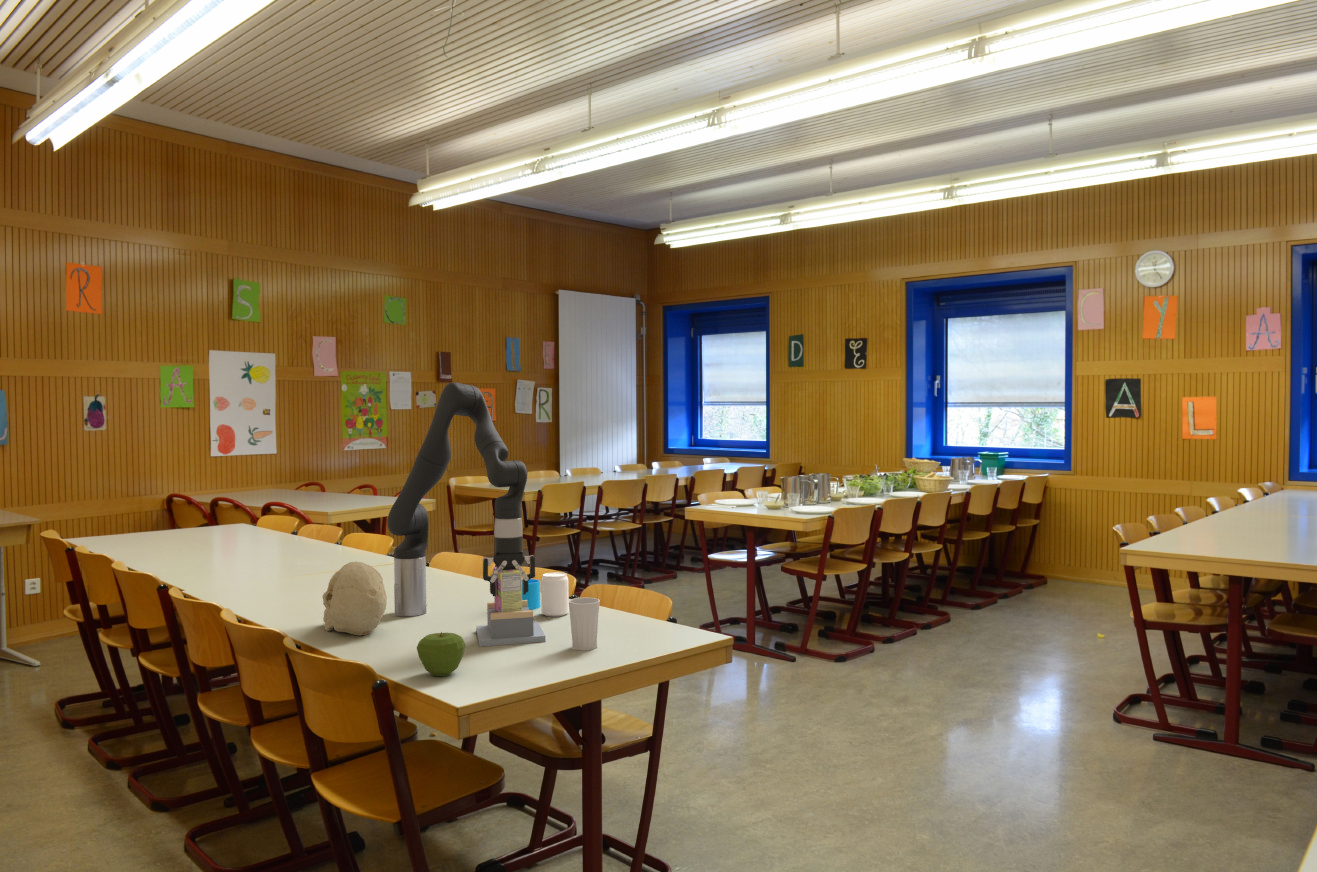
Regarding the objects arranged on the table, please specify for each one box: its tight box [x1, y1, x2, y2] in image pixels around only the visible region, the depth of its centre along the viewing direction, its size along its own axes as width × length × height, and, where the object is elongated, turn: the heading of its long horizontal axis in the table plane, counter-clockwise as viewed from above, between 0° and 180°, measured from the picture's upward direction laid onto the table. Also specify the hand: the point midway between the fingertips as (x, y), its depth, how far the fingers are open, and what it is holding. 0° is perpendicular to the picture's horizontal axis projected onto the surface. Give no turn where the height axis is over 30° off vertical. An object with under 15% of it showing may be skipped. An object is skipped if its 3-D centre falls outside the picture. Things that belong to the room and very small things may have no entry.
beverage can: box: [540, 571, 570, 617], centre depth 265 cm, size 8×8×12 cm
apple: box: [416, 631, 466, 677], centre depth 204 cm, size 11×10×10 cm
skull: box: [322, 561, 388, 636], centre depth 247 cm, size 15×26×20 cm, turn 44°
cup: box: [569, 597, 601, 651], centre depth 227 cm, size 8×8×12 cm
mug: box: [522, 578, 541, 611], centre depth 276 cm, size 12×8×8 cm
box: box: [493, 566, 523, 613], centre depth 239 cm, size 10×6×12 cm, turn 21°
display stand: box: [475, 600, 547, 647], centre depth 239 cm, size 17×17×8 cm
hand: (509, 594), depth 239 cm, fingers open, 7 cm apart
